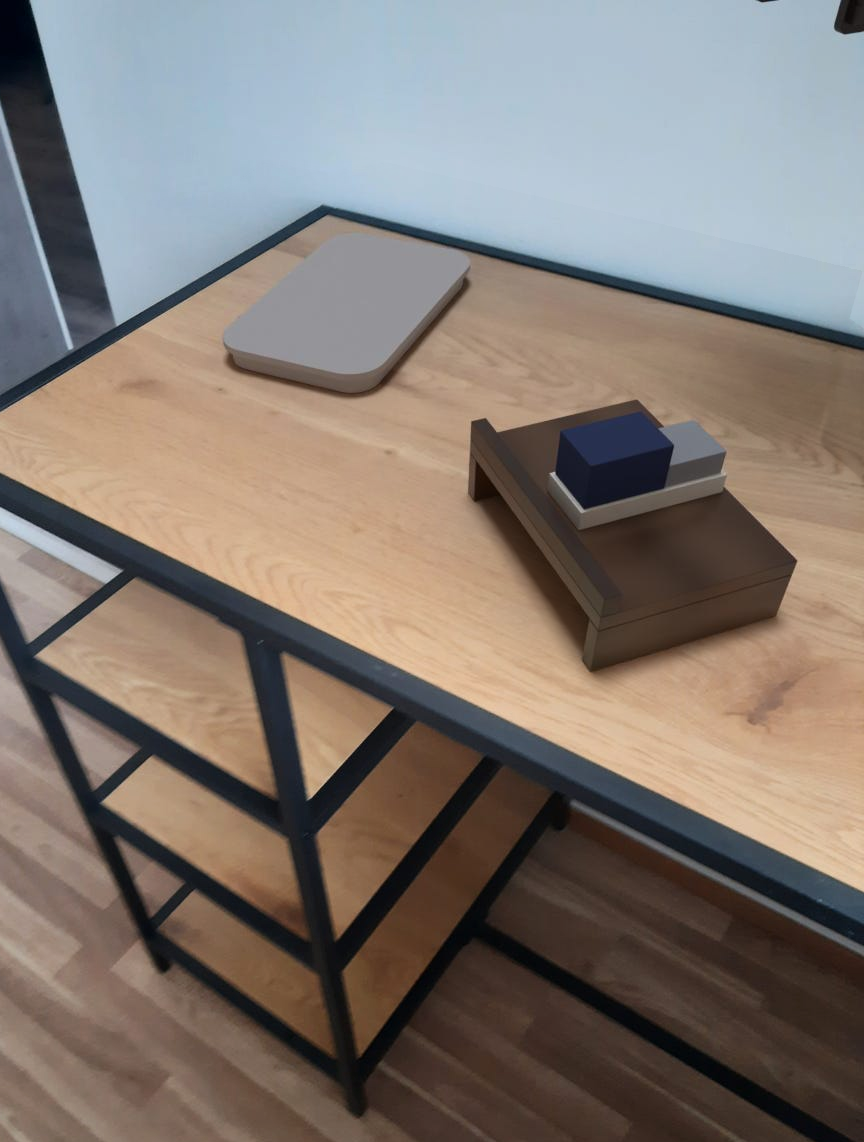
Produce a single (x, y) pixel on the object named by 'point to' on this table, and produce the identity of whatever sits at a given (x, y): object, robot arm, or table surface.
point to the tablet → (347, 311)
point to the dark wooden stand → (635, 548)
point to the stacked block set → (633, 468)
